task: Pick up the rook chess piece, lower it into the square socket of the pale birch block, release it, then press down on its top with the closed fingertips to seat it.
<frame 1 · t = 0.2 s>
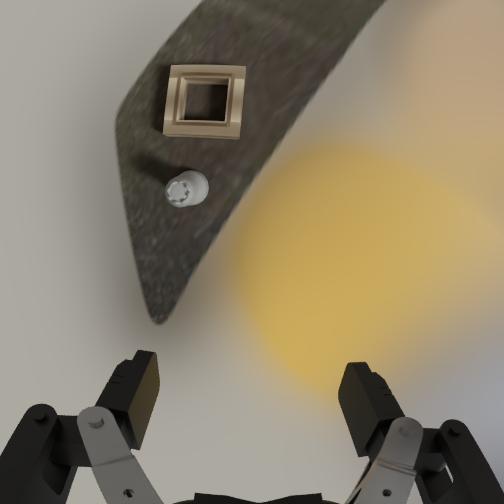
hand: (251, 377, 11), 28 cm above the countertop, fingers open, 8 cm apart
rook chess piece: (192, 187, 37), on the countertop
socket block: (206, 103, 33), on the countertop
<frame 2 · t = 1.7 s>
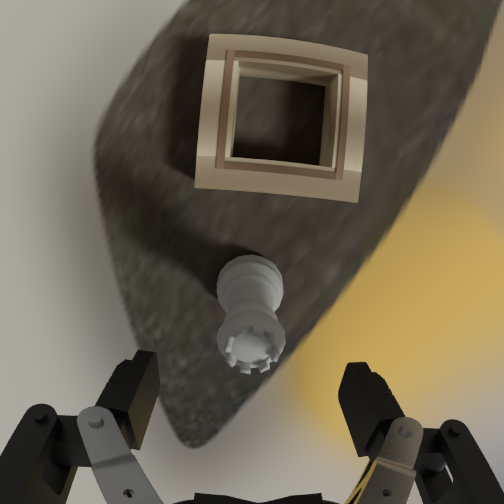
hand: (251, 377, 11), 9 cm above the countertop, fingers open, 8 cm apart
rook chess piece: (249, 282, 20), on the countertop
socket block: (280, 119, 17), on the countertop
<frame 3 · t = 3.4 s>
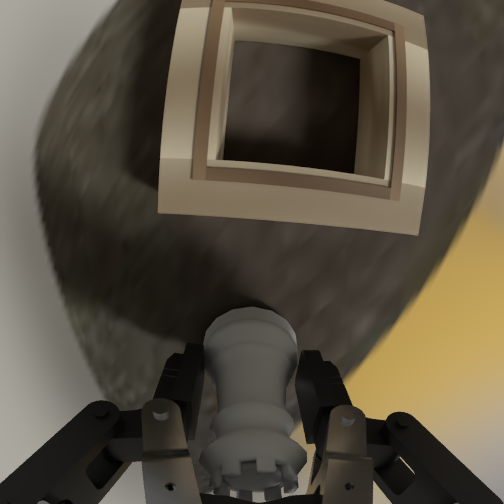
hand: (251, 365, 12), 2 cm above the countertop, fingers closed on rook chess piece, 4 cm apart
rook chess piece: (249, 340, 14), on the countertop, touching gripper
socket block: (295, 103, 11), on the countertop
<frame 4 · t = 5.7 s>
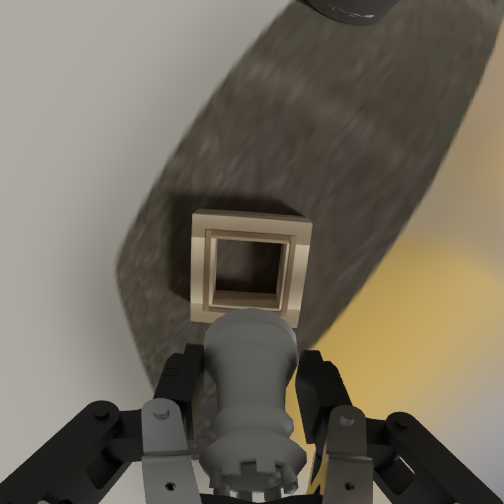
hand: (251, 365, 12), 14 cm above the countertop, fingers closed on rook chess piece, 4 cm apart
rook chess piece: (249, 341, 14), point 12 cm above the countertop, touching gripper
socket block: (247, 263, 26), on the countertop
when the fingers open (4 cm above the countertop, at t = 8.3 s): rook chess piece drops 2 cm, resting in socket block.
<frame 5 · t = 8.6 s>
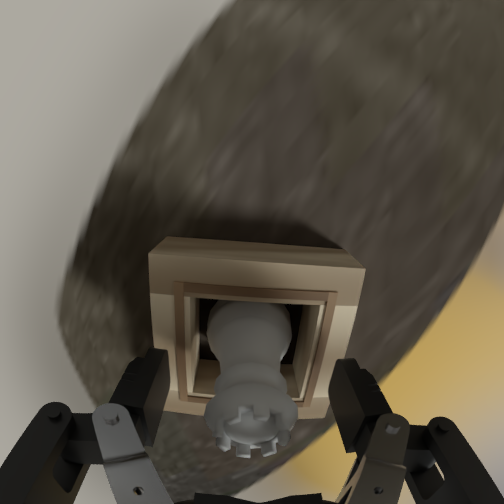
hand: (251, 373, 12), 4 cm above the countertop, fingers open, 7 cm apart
rook chess piece: (249, 320, 16), resting in socket block
socket block: (249, 323, 16), on the countertop
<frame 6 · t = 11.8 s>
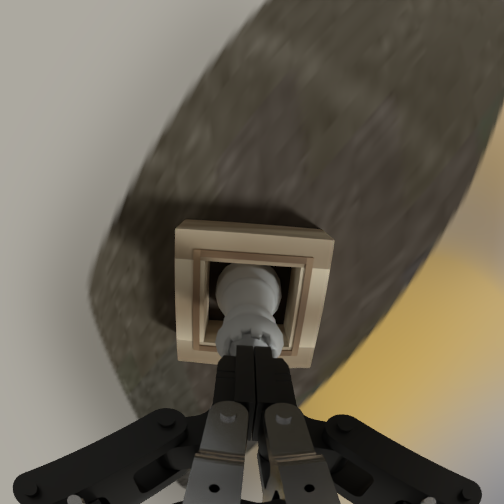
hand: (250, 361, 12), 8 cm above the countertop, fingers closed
rook chess piece: (248, 286, 21), resting in socket block
socket block: (249, 288, 20), on the countertop
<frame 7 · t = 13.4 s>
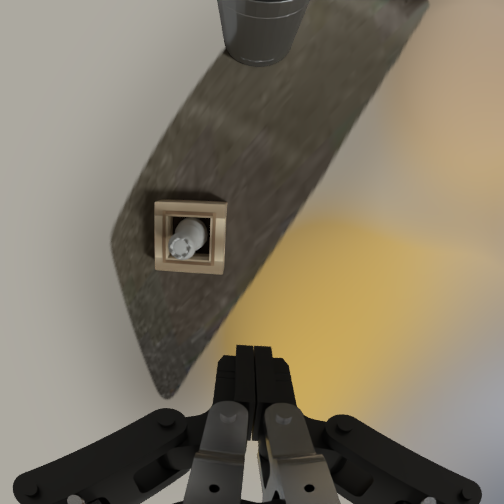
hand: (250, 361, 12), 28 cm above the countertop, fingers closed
rook chess piece: (192, 232, 40), resting in socket block
socket block: (192, 233, 40), on the countertop
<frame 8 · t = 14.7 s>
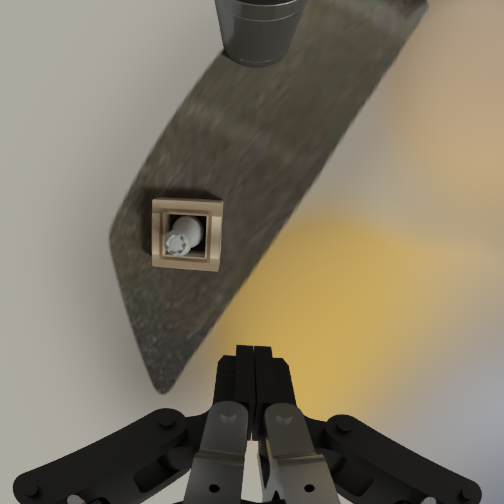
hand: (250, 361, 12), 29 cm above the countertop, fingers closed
rook chess piece: (189, 230, 40), resting in socket block
socket block: (189, 230, 40), on the countertop
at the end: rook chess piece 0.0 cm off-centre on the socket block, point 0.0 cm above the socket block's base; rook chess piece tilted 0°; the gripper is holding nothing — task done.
